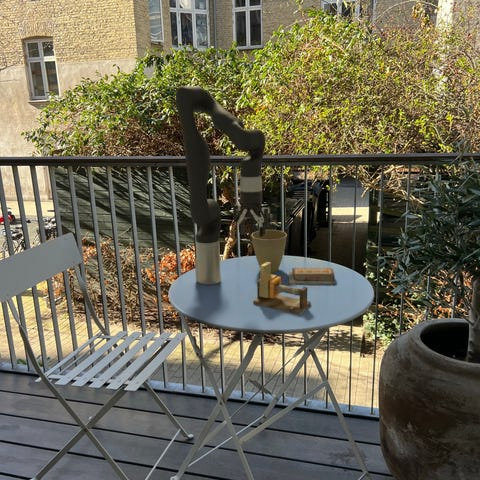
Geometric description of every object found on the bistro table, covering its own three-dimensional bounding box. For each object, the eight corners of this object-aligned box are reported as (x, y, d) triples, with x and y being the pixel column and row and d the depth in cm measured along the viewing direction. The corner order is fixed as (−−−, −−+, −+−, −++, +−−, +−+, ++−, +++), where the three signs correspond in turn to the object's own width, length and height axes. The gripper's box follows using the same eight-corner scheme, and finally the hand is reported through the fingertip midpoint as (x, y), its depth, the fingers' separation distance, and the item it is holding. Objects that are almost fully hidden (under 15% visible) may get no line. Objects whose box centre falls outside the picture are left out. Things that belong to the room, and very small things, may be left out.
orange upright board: (269, 297, 159) (269, 281, 157) (278, 291, 164) (277, 276, 162) (273, 298, 158) (272, 282, 157) (280, 292, 163) (280, 276, 161)
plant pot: (245, 268, 198) (245, 232, 194) (275, 262, 204) (275, 228, 200) (262, 278, 185) (262, 241, 181) (293, 272, 192) (293, 235, 187)
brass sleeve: (259, 296, 161) (259, 266, 158) (268, 290, 166) (268, 261, 163) (268, 298, 159) (267, 268, 156) (276, 292, 164) (276, 262, 161)
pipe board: (253, 303, 162) (253, 283, 159) (265, 295, 169) (265, 275, 167) (299, 314, 152) (299, 293, 150) (310, 304, 159) (310, 284, 157)
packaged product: (333, 265, 186) (335, 274, 176) (333, 276, 187) (335, 285, 177) (289, 264, 188) (288, 273, 178) (289, 275, 189) (288, 284, 180)
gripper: (274, 188, 155) (274, 235, 160) (239, 186, 162) (240, 230, 167) (264, 192, 149) (264, 240, 153) (227, 189, 156) (229, 235, 161)
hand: (251, 235), depth 160 cm, fingers open, 7 cm apart
